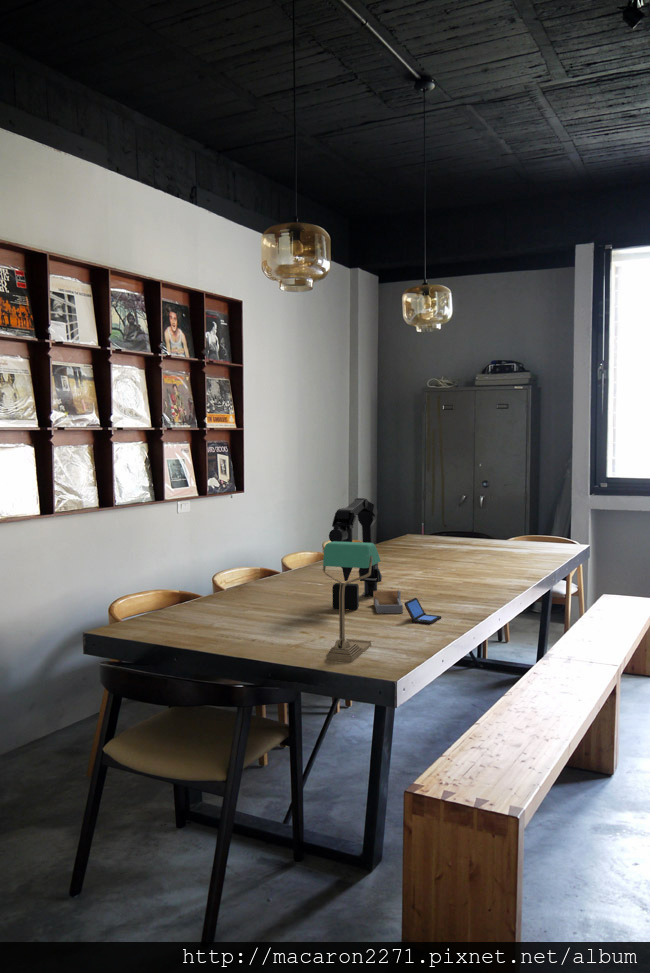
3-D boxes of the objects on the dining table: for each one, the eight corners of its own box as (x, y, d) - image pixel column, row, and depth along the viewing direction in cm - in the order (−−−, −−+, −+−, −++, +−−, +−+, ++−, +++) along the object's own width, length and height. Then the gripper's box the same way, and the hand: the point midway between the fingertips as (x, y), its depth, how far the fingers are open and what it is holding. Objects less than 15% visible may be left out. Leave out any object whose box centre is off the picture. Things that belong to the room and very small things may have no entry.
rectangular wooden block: (400, 603, 312) (400, 590, 311) (400, 604, 310) (400, 591, 310) (373, 603, 311) (373, 590, 311) (373, 604, 310) (373, 591, 309)
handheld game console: (430, 625, 276) (430, 605, 275) (403, 622, 281) (403, 602, 281) (442, 618, 287) (442, 599, 286) (415, 615, 292) (415, 596, 292)
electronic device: (357, 610, 301) (357, 585, 300) (332, 609, 303) (332, 584, 302) (358, 608, 305) (358, 583, 305) (334, 607, 307) (334, 582, 307)
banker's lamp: (315, 658, 234) (314, 546, 232) (338, 641, 254) (337, 538, 252) (363, 663, 229) (362, 548, 227) (383, 645, 248) (382, 539, 246)
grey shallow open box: (374, 605, 310) (374, 598, 310) (398, 605, 310) (398, 598, 310) (377, 613, 296) (377, 605, 296) (402, 612, 296) (402, 605, 296)
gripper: (324, 537, 312) (325, 575, 313) (325, 543, 293) (325, 583, 294) (351, 537, 312) (352, 575, 313) (354, 543, 293) (354, 583, 294)
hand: (345, 579), depth 303 cm, fingers open, 7 cm apart
